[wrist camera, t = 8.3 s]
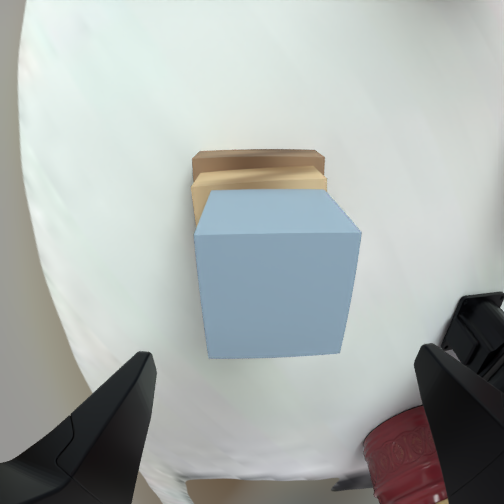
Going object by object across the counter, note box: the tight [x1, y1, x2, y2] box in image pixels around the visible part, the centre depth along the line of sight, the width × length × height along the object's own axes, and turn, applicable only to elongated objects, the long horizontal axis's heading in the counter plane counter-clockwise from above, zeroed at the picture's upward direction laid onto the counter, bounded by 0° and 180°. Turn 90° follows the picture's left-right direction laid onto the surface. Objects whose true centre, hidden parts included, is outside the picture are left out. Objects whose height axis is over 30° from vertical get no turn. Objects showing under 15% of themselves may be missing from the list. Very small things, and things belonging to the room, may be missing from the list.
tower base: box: [192, 149, 325, 182], centre depth 19 cm, size 7×7×3 cm
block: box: [194, 189, 362, 359], centre depth 12 cm, size 5×5×5 cm
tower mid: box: [191, 166, 327, 228], centre depth 16 cm, size 6×6×3 cm
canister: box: [363, 406, 449, 504], centre depth 26 cm, size 13×13×18 cm
